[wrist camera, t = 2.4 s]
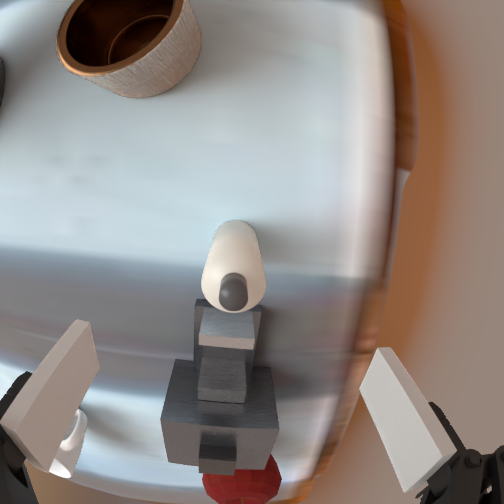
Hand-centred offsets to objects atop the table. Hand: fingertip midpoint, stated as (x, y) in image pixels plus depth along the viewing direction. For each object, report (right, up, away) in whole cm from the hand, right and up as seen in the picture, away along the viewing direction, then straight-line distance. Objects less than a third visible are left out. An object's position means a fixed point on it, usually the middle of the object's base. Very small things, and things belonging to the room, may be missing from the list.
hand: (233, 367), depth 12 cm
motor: (-3, -11, +23) cm, 25 cm away
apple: (-1, -26, +28) cm, 39 cm away
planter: (-9, +25, +10) cm, 29 cm away
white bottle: (-1, +6, +17) cm, 18 cm away
